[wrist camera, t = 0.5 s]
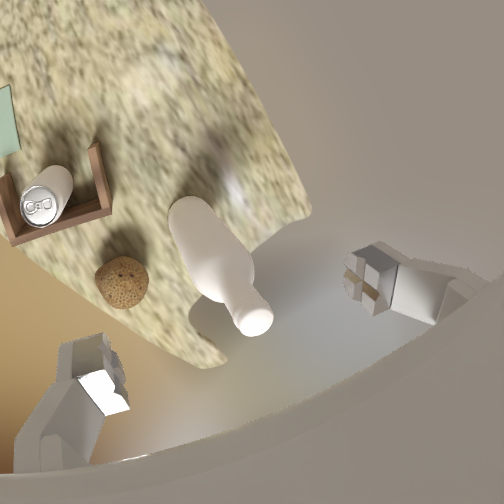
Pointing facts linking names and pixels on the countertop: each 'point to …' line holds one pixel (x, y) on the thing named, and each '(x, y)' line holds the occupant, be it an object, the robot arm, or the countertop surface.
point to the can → (46, 196)
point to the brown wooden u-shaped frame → (7, 206)
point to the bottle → (218, 263)
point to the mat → (7, 124)
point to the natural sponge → (122, 282)
